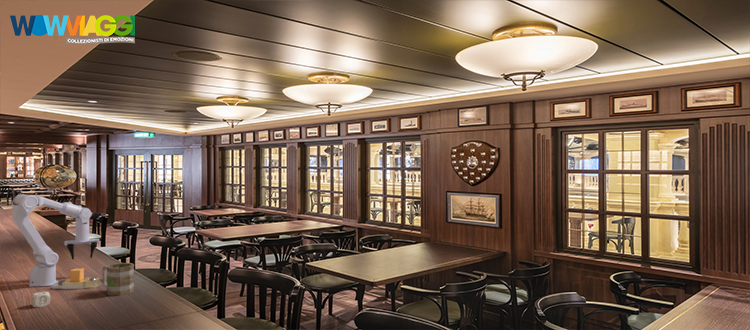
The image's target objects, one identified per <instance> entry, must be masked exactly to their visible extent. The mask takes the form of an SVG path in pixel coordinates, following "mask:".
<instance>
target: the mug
mask: <svg viewBox="0 0 750 330" xmlns="http://www.w3.org/2000/svg"><path fill="white" fill-rule="evenodd" d="M134 268H135V264H134V263H132V262H120V263H113V264H110V265H105V266H103V267H102V284H103V286H105V287H106V295H107V296H111V297H113V296H114V297H119V296H125V295H129V294H132V293H133V292H135V283H134V282H135V272H134V270H135V269H134ZM131 292H132V293H131Z"/></svg>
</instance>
